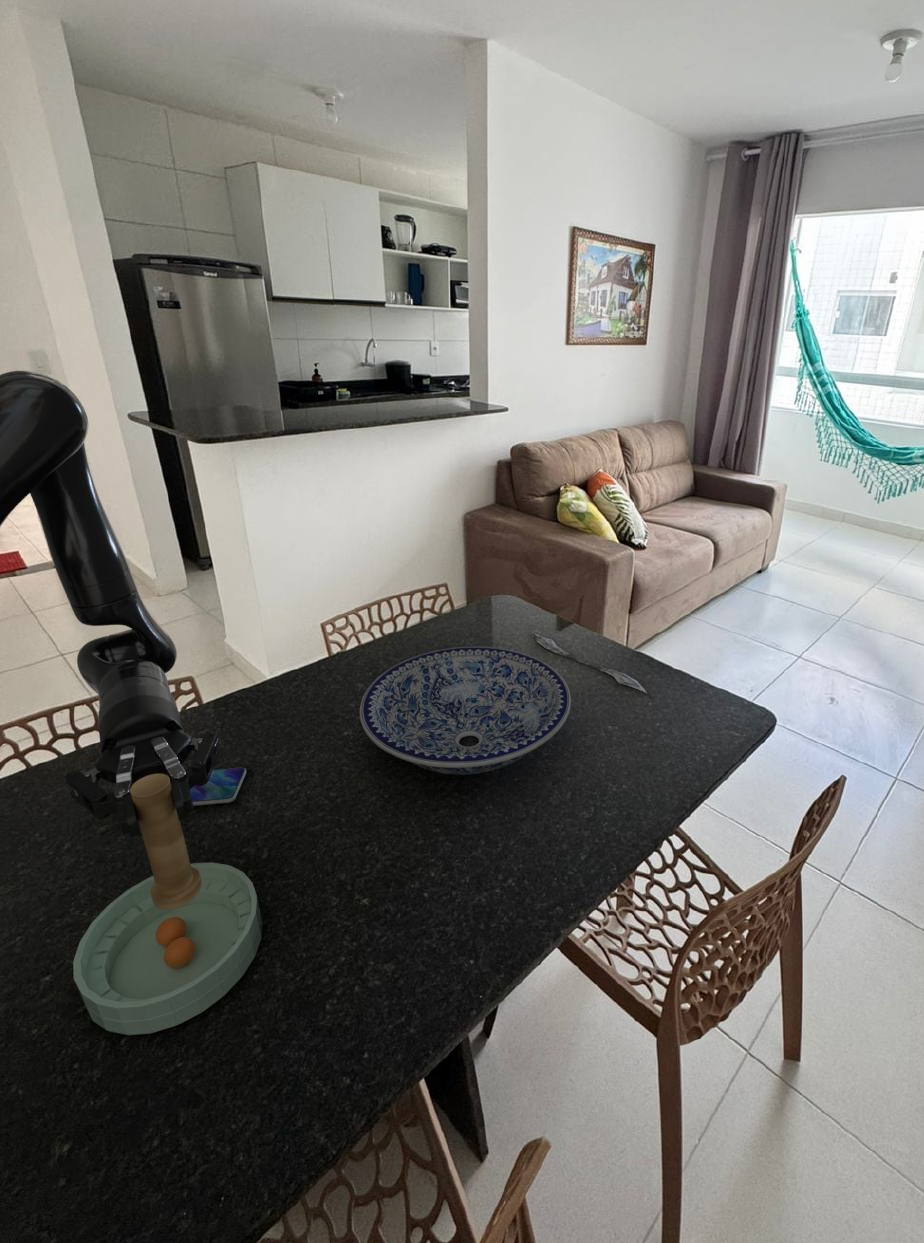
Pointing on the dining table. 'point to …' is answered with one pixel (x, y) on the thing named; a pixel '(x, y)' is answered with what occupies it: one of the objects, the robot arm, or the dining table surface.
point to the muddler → (164, 843)
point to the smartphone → (219, 787)
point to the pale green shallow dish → (134, 962)
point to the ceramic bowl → (465, 708)
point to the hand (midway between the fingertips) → (158, 820)
